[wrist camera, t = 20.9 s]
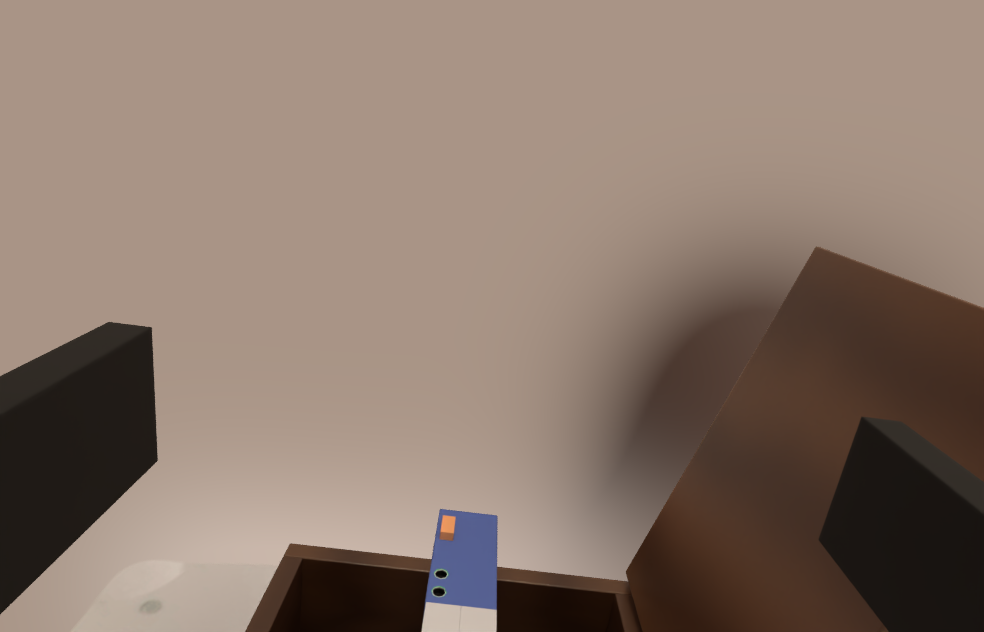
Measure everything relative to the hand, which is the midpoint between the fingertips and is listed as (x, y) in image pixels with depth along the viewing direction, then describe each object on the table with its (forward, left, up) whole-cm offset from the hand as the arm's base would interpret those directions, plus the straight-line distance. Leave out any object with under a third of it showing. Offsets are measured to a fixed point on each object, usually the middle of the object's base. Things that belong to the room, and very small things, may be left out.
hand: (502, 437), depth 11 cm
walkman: (0, +10, -24) cm, 26 cm away
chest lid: (+11, +10, -7) cm, 16 cm away
